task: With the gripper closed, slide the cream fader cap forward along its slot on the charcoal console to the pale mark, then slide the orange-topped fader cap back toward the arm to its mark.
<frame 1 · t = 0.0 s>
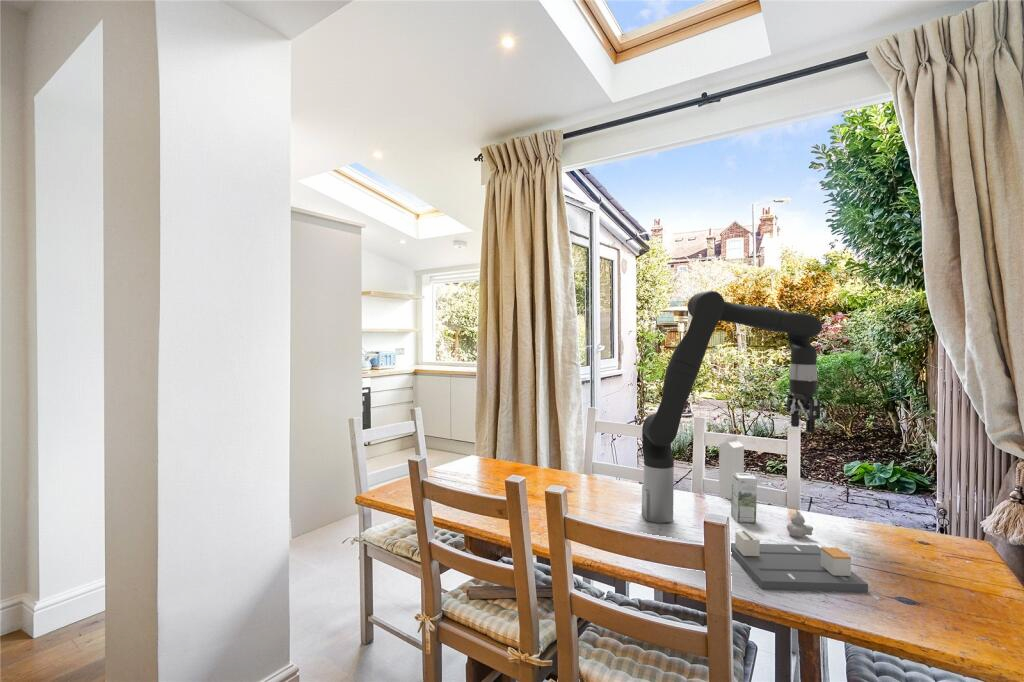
hand: (802, 429, 151), 29 cm above the table, tool pointing down, fingers open, 8 cm apart
grey figurine: (799, 537, 139), on the table
milk: (730, 496, 174), on the table
fader console: (791, 569, 120), on the table
orange fader cap: (835, 561, 115), point 5 cm above the table, slide at 0.0 cm
cream fader cap: (747, 543, 125), point 5 cm above the table, slide at 0.0 cm
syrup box: (743, 520, 152), on the table
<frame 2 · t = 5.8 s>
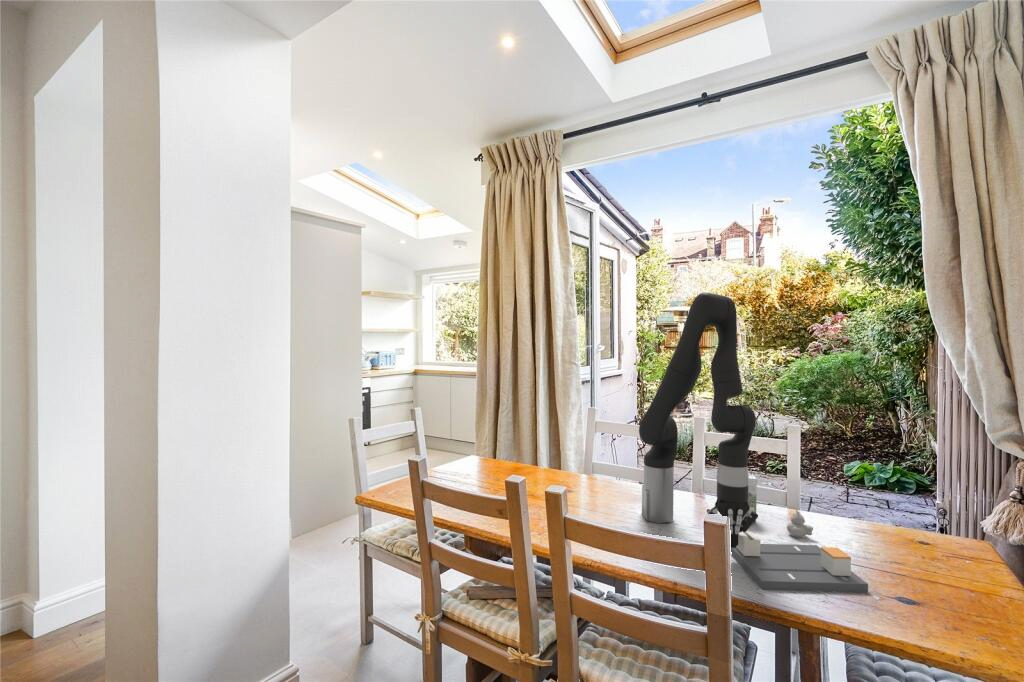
hand: (731, 546, 125), 4 cm above the table, tool pointing down, fingers closed
cream fader cap: (748, 543, 125), point 5 cm above the table, slide at 0.2 cm, touching gripper
everything else where it was.
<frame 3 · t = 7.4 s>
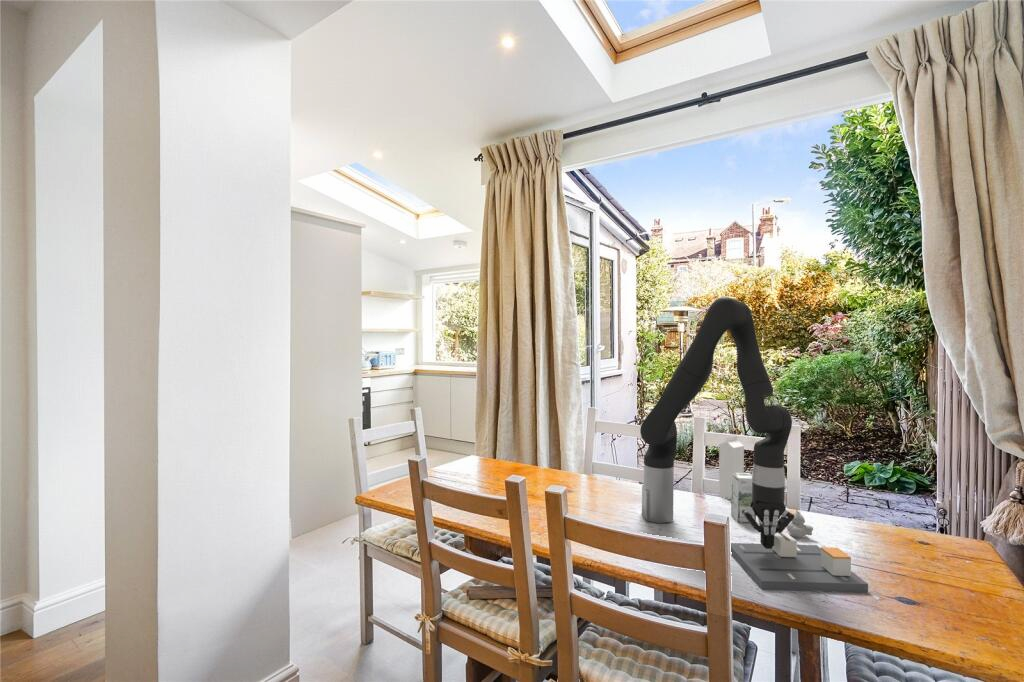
hand: (767, 547, 124), 4 cm above the table, tool pointing down, fingers closed
cream fader cap: (783, 543, 124), point 5 cm above the table, slide at 9.4 cm, touching gripper
everything else where it was.
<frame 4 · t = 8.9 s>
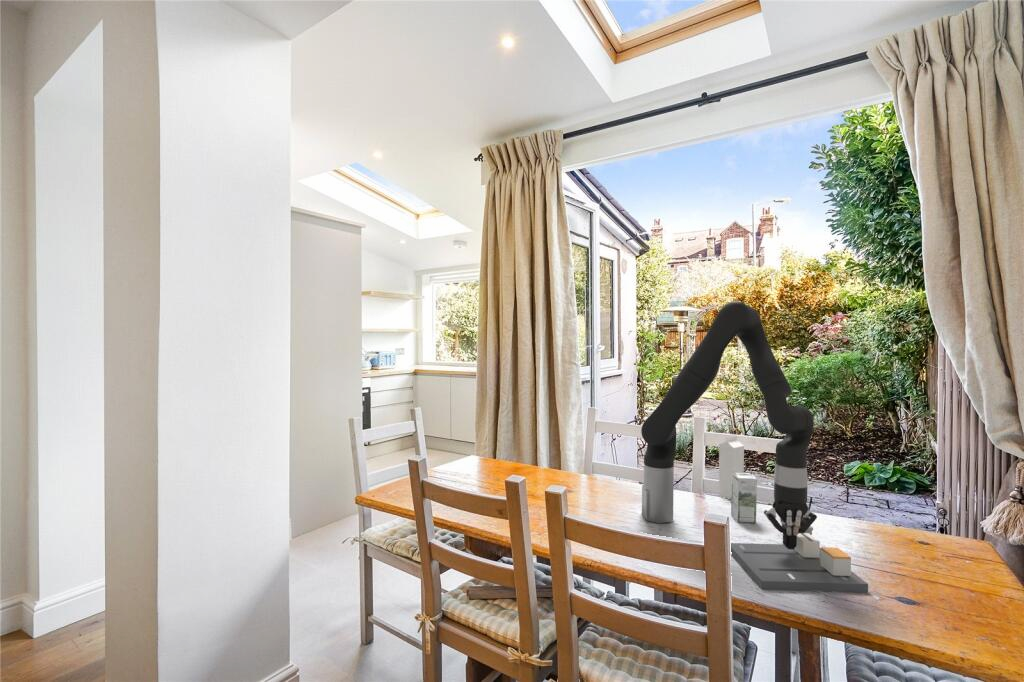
hand: (789, 547, 124), 4 cm above the table, tool pointing down, fingers closed
cream fader cap: (806, 544, 124), point 5 cm above the table, slide at 15.1 cm, touching gripper
everything else where it was.
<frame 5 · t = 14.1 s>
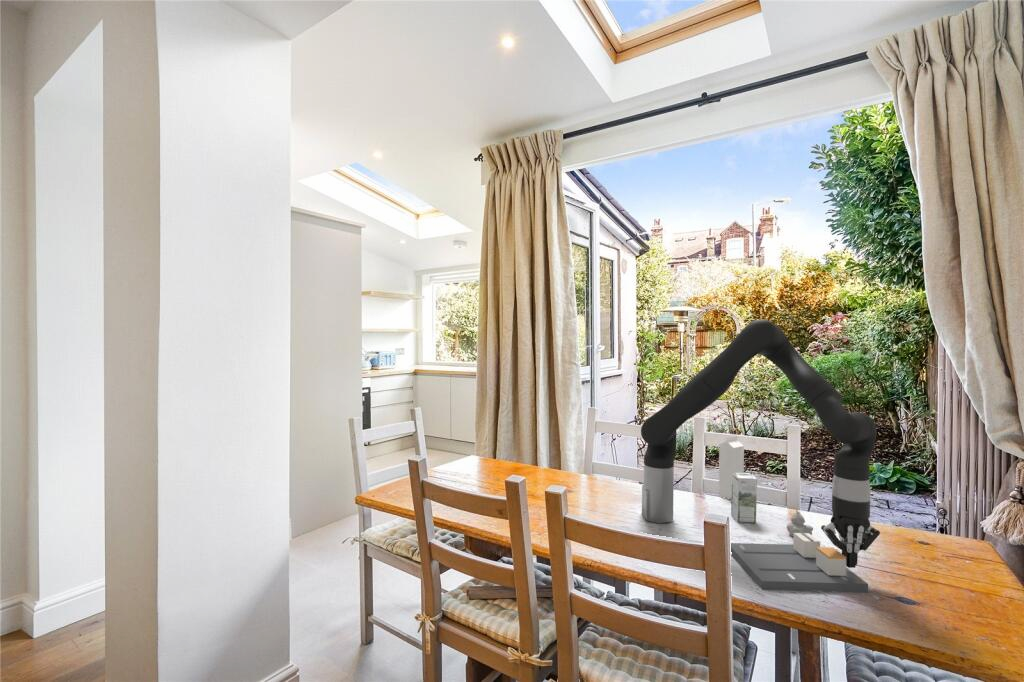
hand: (849, 566, 115), 3 cm above the table, tool pointing down, fingers closed
orange fader cap: (830, 561, 115), point 5 cm above the table, slide at 1.1 cm, touching gripper
cream fader cap: (806, 544, 124), point 5 cm above the table, slide at 15.2 cm
everything else where it was.
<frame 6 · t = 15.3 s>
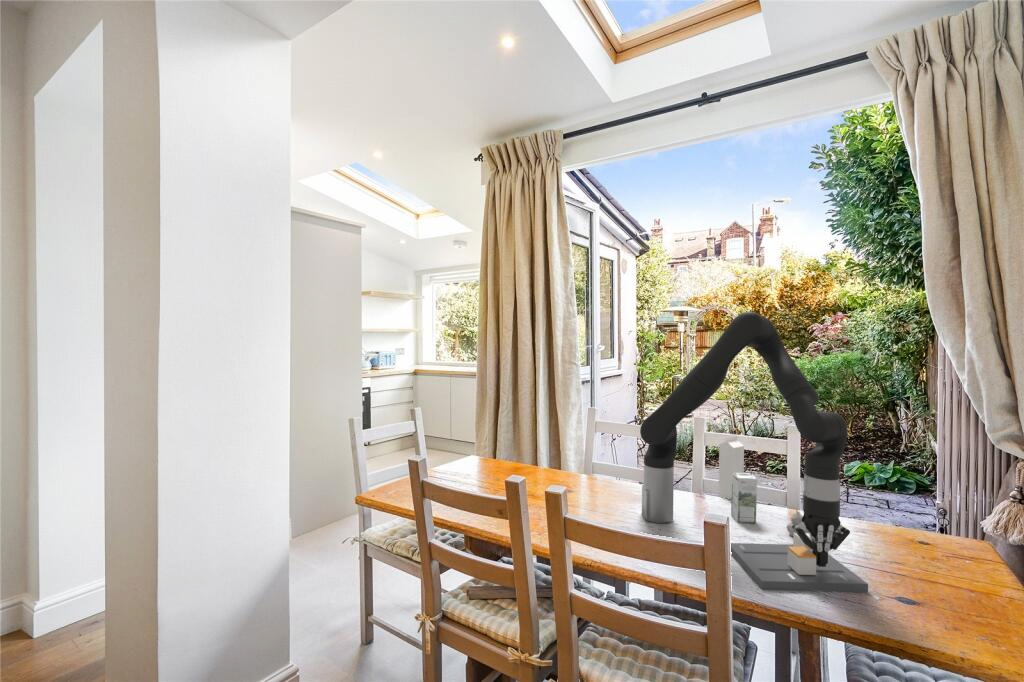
hand: (820, 565, 115), 3 cm above the table, tool pointing down, fingers closed
orange fader cap: (801, 560, 115), point 5 cm above the table, slide at 8.0 cm, touching gripper
everything else where it was.
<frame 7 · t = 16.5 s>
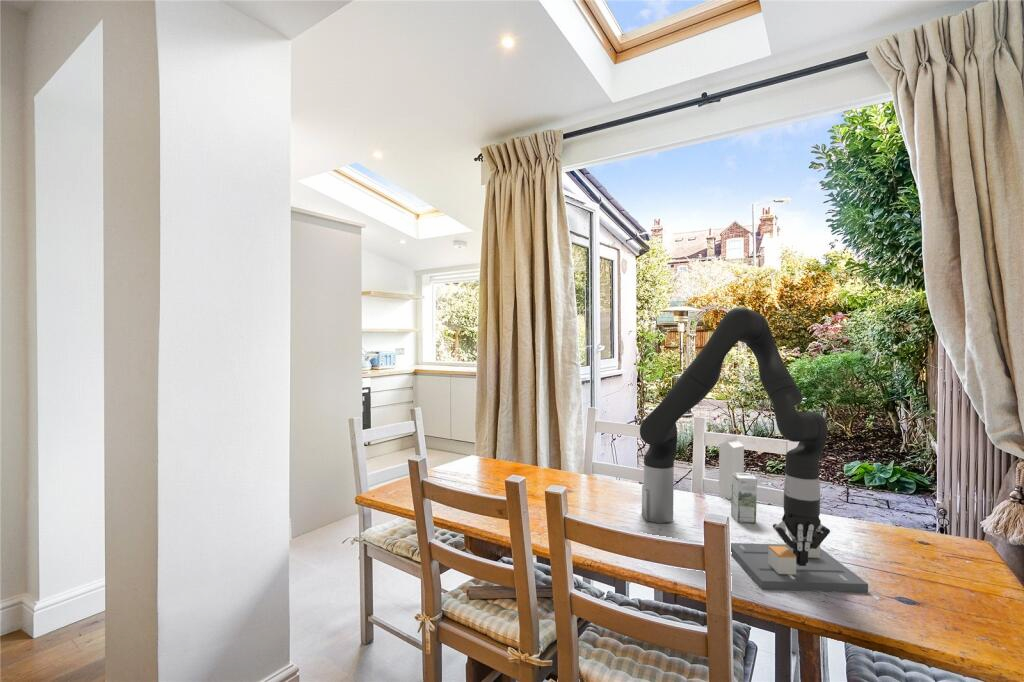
hand: (800, 564, 116), 3 cm above the table, tool pointing down, fingers closed
orange fader cap: (782, 559, 116), point 5 cm above the table, slide at 12.7 cm, touching gripper
everything else where it was.
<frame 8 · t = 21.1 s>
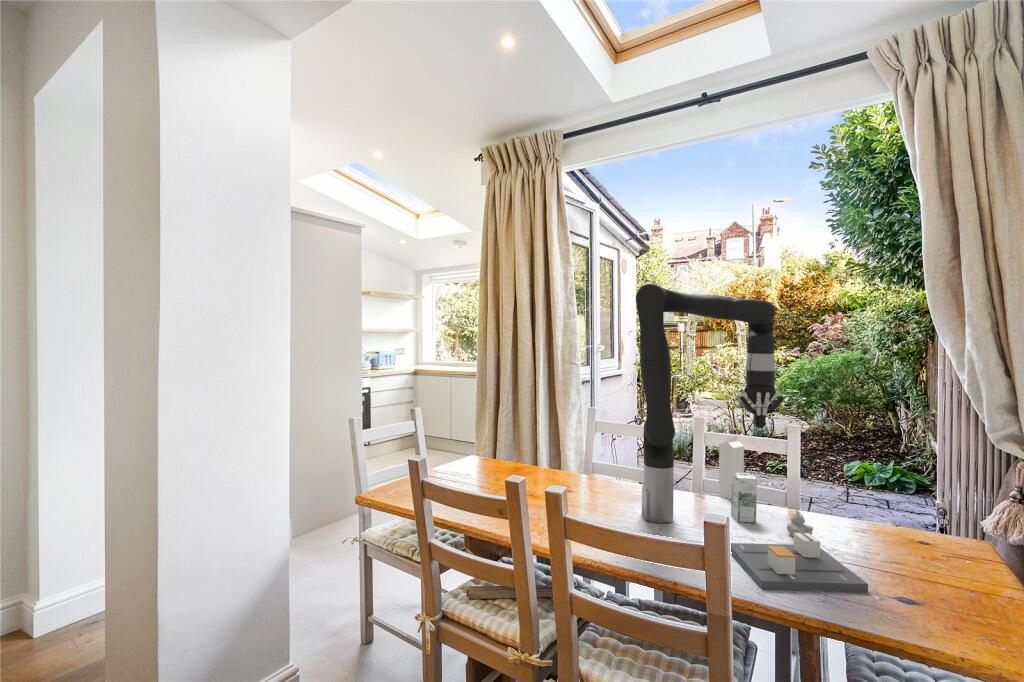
hand: (759, 427, 139), 32 cm above the table, tool pointing down, fingers closed
orange fader cap: (781, 559, 116), point 5 cm above the table, slide at 12.9 cm
everything else where it was.
at the end: cream fader cap slide at 15.2 cm; orange fader cap slide at 12.9 cm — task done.
